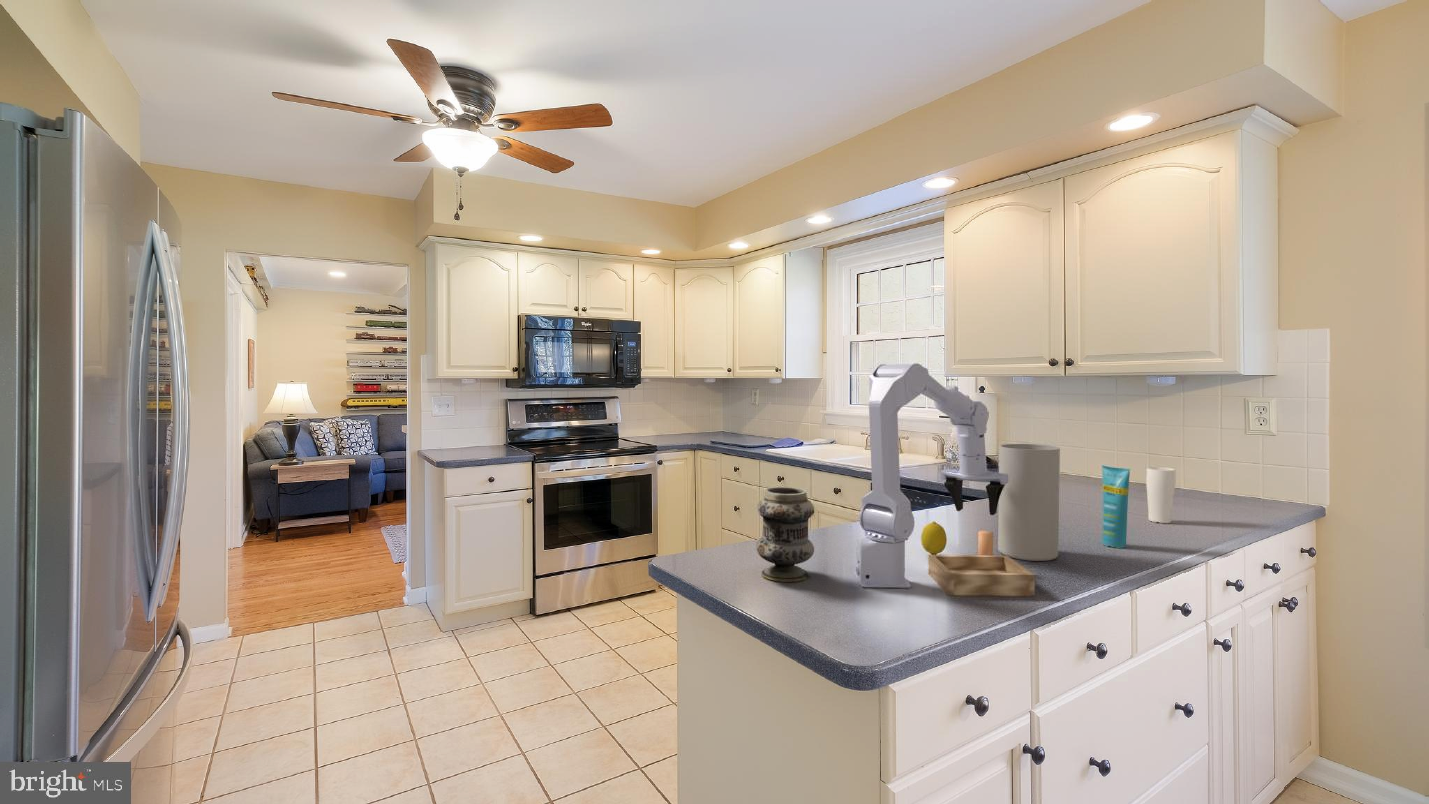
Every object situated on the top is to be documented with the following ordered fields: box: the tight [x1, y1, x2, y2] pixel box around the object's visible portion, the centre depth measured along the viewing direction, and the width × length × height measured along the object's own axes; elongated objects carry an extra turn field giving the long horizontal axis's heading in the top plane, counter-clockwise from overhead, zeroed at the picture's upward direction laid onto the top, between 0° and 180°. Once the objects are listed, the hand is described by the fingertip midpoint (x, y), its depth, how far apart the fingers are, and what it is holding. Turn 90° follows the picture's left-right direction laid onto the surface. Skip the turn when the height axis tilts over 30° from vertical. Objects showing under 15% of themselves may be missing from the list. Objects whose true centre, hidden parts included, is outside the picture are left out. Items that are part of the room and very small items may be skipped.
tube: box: [1101, 464, 1131, 549], centre depth 156 cm, size 7×5×19 cm, turn 23°
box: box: [928, 554, 1036, 597], centre depth 128 cm, size 16×13×4 cm
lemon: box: [920, 521, 948, 555], centre depth 148 cm, size 6×6×8 cm
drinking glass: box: [1145, 466, 1177, 524], centre depth 181 cm, size 7×7×15 cm
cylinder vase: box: [997, 443, 1061, 562], centre depth 149 cm, size 12×12×25 cm
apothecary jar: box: [755, 486, 815, 583], centre depth 135 cm, size 12×12×18 cm
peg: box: [977, 530, 994, 555], centre depth 138 cm, size 3×3×8 cm
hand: (976, 511), depth 147 cm, fingers open, 7 cm apart
